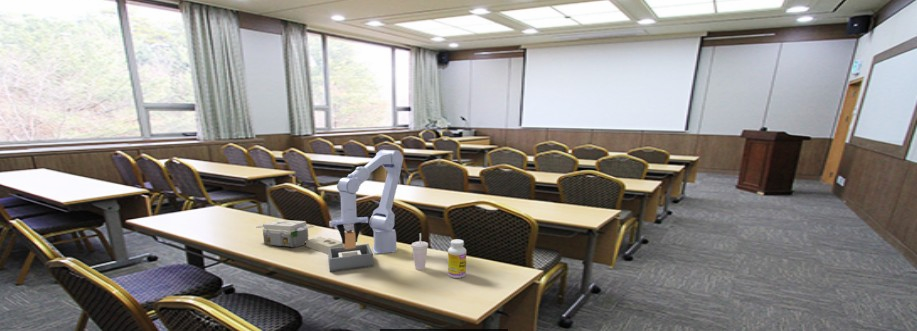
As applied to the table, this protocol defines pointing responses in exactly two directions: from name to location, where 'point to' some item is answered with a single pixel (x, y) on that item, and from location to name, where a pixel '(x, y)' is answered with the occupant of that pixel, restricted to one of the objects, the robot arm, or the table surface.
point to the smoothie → (419, 254)
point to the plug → (350, 239)
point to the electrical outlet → (323, 244)
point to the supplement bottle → (457, 259)
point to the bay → (350, 258)
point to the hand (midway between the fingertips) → (349, 242)
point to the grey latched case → (285, 233)
